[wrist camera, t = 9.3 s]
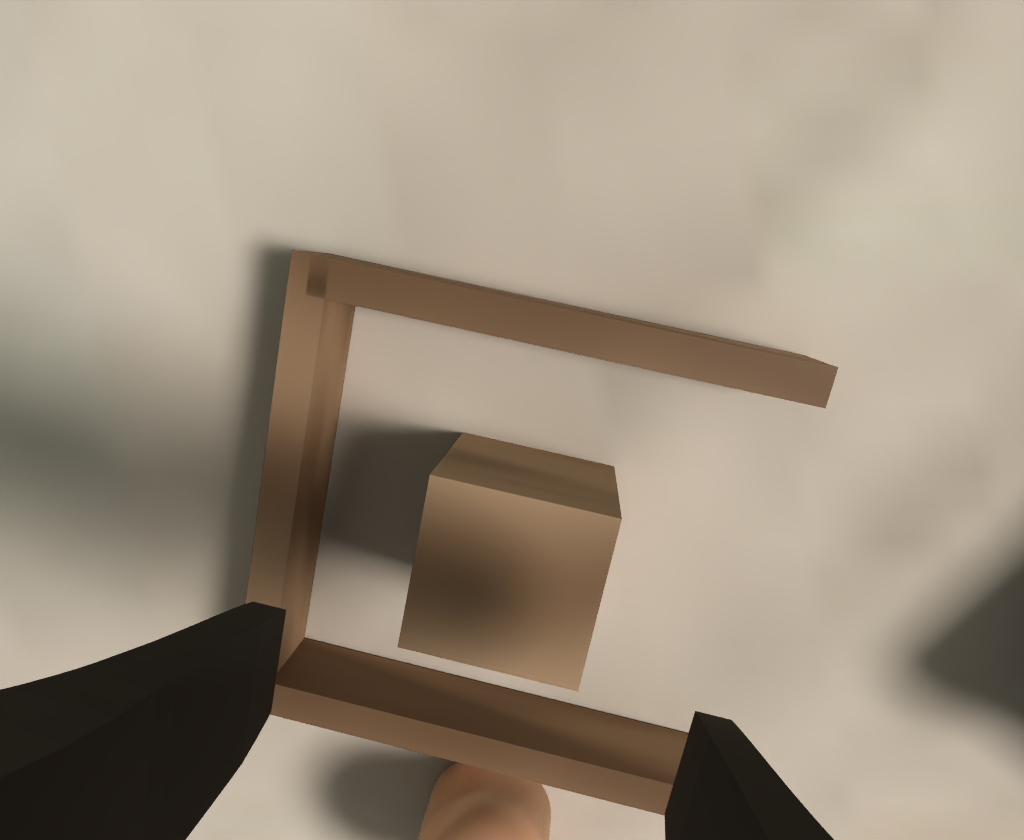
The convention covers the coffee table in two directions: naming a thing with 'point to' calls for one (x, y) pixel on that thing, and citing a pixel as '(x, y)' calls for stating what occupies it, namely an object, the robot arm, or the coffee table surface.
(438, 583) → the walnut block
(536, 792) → the tan rounded capsule
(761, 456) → the coffee table surface
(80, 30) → the coffee table surface
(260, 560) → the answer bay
